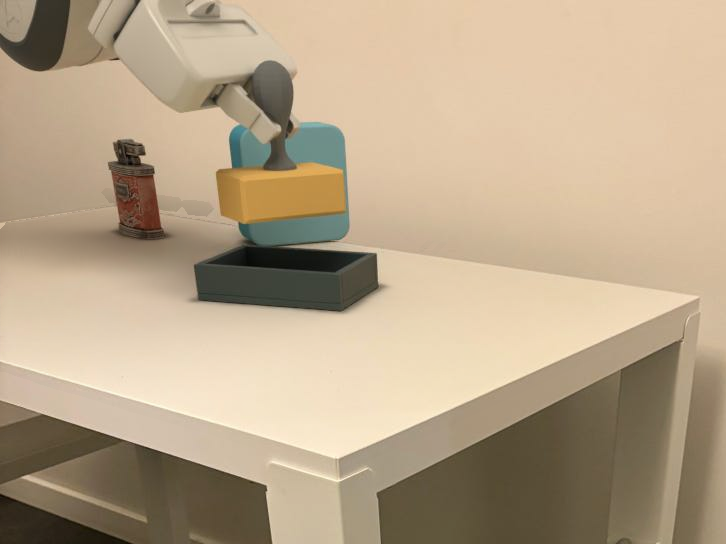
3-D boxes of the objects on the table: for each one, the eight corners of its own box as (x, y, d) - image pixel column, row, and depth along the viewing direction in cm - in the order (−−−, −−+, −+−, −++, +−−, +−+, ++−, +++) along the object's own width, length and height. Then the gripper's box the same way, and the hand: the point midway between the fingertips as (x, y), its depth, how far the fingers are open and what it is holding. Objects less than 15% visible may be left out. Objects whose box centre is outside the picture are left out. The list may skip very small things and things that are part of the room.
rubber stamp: (318, 205, 93) (307, 58, 87) (348, 213, 89) (338, 60, 83) (219, 214, 88) (199, 59, 82) (245, 224, 84) (227, 62, 78)
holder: (341, 311, 87) (338, 274, 85) (197, 300, 90) (193, 264, 88) (378, 286, 95) (377, 252, 93) (246, 277, 98) (242, 244, 96)
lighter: (113, 230, 118) (96, 137, 113) (139, 227, 120) (124, 136, 115) (144, 240, 113) (128, 143, 108) (171, 236, 115) (157, 141, 110)
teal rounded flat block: (336, 233, 118) (329, 121, 112) (351, 239, 115) (344, 124, 109) (239, 241, 113) (226, 124, 107) (251, 248, 110) (238, 127, 104)
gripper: (203, 29, 92) (308, 150, 95) (74, 32, 75) (208, 177, 79) (241, -28, 89) (349, 99, 92) (115, -39, 72) (253, 116, 75)
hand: (283, 135), depth 85 cm, fingers closed on rubber stamp, 3 cm apart
